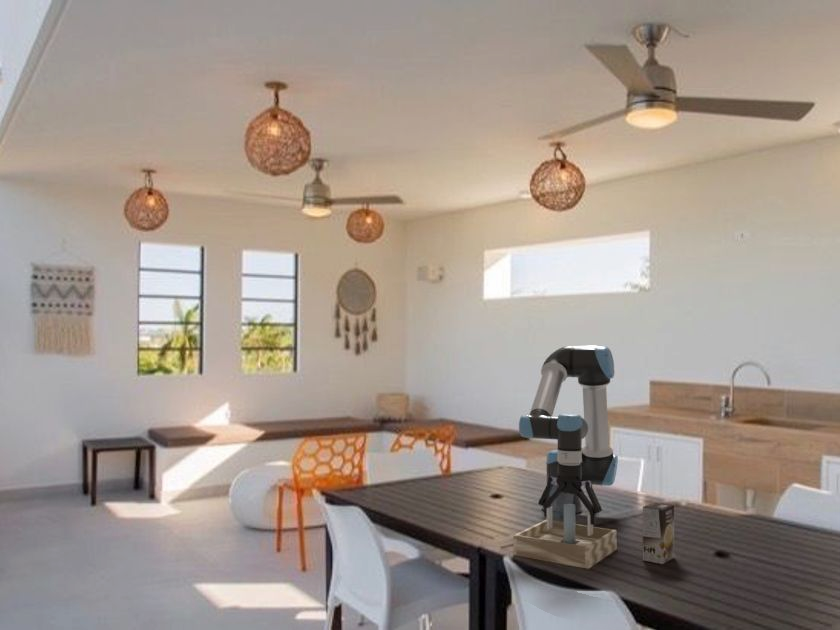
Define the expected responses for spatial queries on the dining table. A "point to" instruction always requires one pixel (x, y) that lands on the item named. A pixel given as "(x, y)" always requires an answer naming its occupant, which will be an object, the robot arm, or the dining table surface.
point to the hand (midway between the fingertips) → (569, 531)
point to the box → (565, 544)
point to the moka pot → (559, 503)
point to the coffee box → (658, 532)
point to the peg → (569, 523)
